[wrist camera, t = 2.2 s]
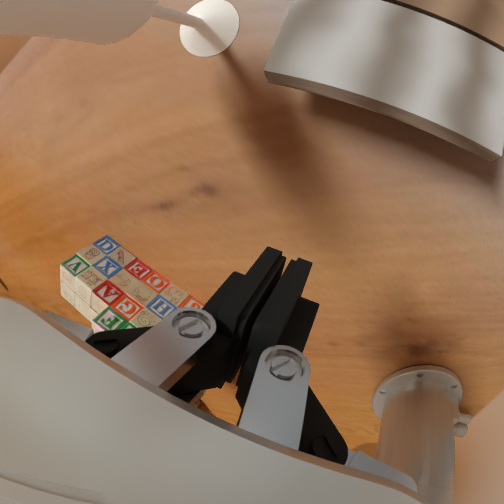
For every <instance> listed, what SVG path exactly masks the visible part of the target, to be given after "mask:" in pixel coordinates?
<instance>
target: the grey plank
mask: <svg viewBox="0 0 504 504" xmlns="http://www.w3.org/2000/svg"><path fill="white" fill-rule="evenodd" d="M263 71H264V73H265V75H266V77H267V79H268V82H269V83H273V84H277V85H282V86H286V87H291V88H295V89H299V90H303V91H307V92H311V93H315V94H319V95H322V96H326V97H329V98H333V99H336V100H340V101H343V102H346V103H349V104H353V105H356V106H359V107H362V108H365V109H368V110H371V111H374V112H377V113H380V114H382V115H385V116H388V117H391V118H393V119H396V120H399V121H401V122H404V123H406V124H409V125H411V126H414V127H416V128H419V129H421V130H423V131H426V132H428V133H430V134H433V135H435V136H437V137H440V138H442V139H444V140H446V141H448V142H450V143H453V144H455V145H457V146H459V147H461V148H463V149H465V150H467V151H469V152H471V153H473V154H475V155H477V156H479V157H481V158H483V159H484V160H486V161H488V162H490V163H491V162H493V161H495V160H496V159H498V158H500V157H502V153H503V145H504V52H503V51H501V50H499V49H498V48H496V47H494V46H492V45H490V44H489V43H487V42H485V41H483V40H481V39H479V38H477V37H475V36H473V35H471V34H469V33H467V32H465V31H463V30H460V29H458V28H456V27H454V26H451V25H449V24H447V23H445V22H442V21H440V20H437V19H435V18H432V17H430V16H427V15H424V14H422V13H419V12H416V11H413V10H411V9H408V8H405V7H402V6H399V5H395V4H392V3H389V2H385V1H382V0H294V1H293V3H292V6H291V8H290V10H289V12H288V14H287V17H286V19H285V21H284V23H283V26H282V28H281V30H280V32H279V35H278V37H277V39H276V42H275V44H274V46H273V49H272V51H271V53H270V56H269V58H268V60H267V63H266V65H265V68H264V70H263Z"/></svg>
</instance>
